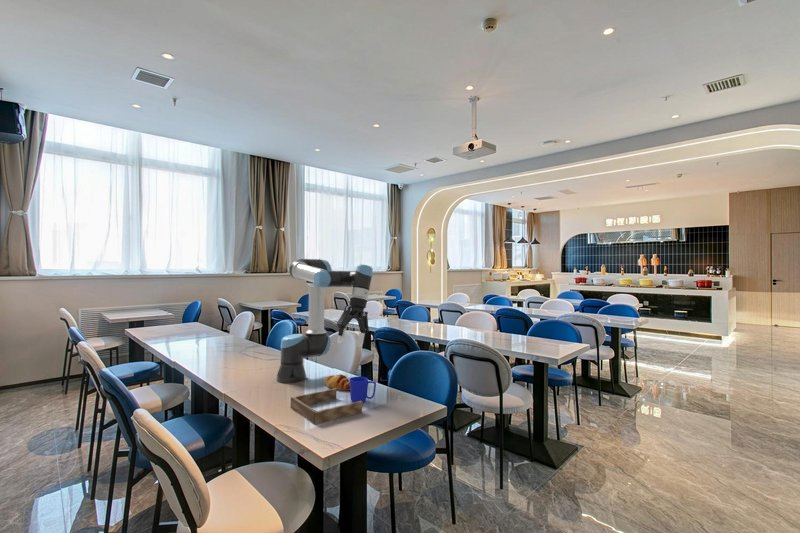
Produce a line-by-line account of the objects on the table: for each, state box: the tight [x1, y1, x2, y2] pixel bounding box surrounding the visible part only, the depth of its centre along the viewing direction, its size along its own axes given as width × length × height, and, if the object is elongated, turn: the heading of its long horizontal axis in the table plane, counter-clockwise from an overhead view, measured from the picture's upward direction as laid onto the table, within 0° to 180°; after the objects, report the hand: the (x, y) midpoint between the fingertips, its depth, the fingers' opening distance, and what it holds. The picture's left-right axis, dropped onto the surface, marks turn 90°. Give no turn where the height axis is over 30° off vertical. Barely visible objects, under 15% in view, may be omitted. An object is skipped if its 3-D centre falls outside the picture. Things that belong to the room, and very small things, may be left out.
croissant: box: [324, 373, 350, 391], centre depth 191 cm, size 21×10×8 cm, turn 49°
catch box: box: [290, 388, 363, 425], centre depth 158 cm, size 21×22×4 cm
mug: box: [349, 376, 377, 403], centre depth 170 cm, size 8×12×10 cm
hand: (349, 345), depth 168 cm, fingers open, 13 cm apart
